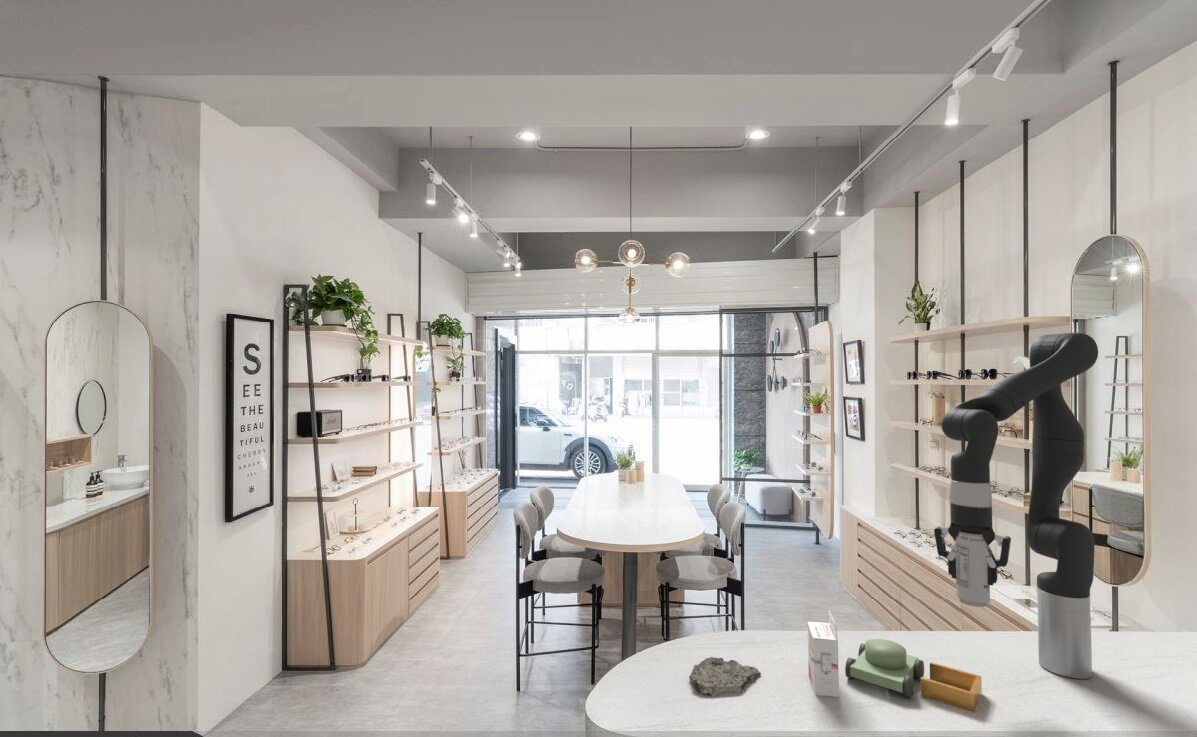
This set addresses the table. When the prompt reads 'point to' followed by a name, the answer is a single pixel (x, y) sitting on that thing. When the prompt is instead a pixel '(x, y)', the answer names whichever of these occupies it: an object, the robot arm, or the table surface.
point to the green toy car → (886, 666)
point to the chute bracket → (952, 687)
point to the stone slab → (721, 676)
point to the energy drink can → (972, 570)
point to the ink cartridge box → (823, 657)
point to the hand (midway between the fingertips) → (972, 580)
